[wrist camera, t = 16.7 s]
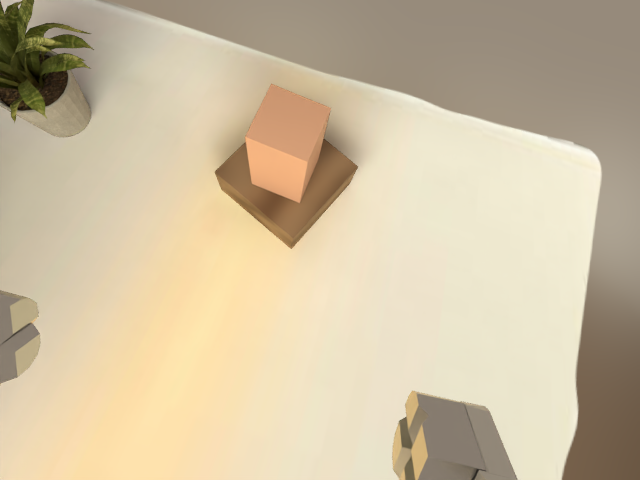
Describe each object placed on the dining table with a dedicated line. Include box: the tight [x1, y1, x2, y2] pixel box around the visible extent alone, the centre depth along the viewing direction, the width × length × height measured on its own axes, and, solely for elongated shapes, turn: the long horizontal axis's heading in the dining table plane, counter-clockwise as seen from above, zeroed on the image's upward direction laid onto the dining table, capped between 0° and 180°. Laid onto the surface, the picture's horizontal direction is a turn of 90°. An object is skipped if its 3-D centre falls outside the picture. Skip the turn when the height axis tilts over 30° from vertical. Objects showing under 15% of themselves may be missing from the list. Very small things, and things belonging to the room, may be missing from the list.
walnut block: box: [215, 138, 358, 249], centre depth 40 cm, size 10×10×5 cm
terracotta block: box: [245, 84, 331, 203], centre depth 34 cm, size 5×5×9 cm
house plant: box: [0, 0, 94, 137], centre depth 33 cm, size 14×14×16 cm
